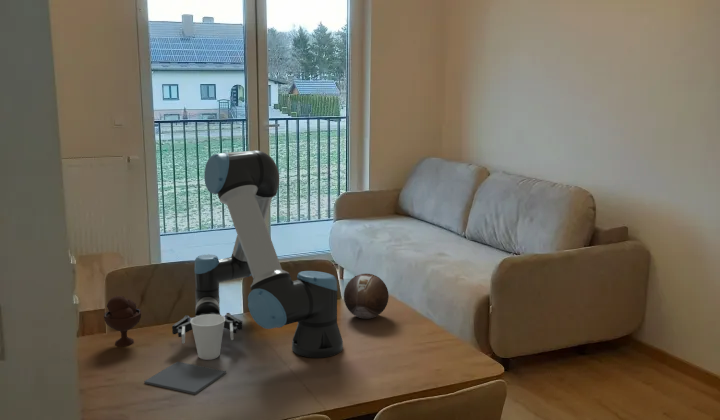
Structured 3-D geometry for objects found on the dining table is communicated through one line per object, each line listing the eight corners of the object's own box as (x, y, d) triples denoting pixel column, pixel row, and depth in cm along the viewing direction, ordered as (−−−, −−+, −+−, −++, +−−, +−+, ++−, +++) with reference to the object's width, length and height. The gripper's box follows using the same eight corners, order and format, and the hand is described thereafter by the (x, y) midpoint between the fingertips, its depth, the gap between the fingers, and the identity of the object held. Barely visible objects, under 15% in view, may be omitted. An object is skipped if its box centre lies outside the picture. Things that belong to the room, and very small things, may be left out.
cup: (233, 353, 203) (232, 317, 201) (212, 365, 194) (211, 328, 192) (205, 347, 207) (204, 312, 205) (184, 359, 198) (182, 322, 196)
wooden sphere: (343, 325, 227) (343, 280, 224) (344, 309, 242) (344, 268, 239) (389, 325, 227) (390, 281, 224) (387, 310, 242) (387, 268, 239)
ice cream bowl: (136, 350, 204) (134, 301, 202) (99, 349, 205) (96, 300, 202) (148, 336, 215) (146, 290, 212) (112, 336, 215) (109, 289, 212)
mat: (226, 373, 189) (225, 371, 189) (195, 394, 177) (195, 392, 176) (177, 363, 195) (177, 361, 195) (144, 383, 183) (144, 381, 182)
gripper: (248, 321, 221) (252, 346, 201) (167, 326, 216) (162, 352, 196) (247, 298, 220) (251, 321, 200) (166, 303, 215) (161, 327, 194)
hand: (207, 337), depth 198 cm, fingers open, 13 cm apart
